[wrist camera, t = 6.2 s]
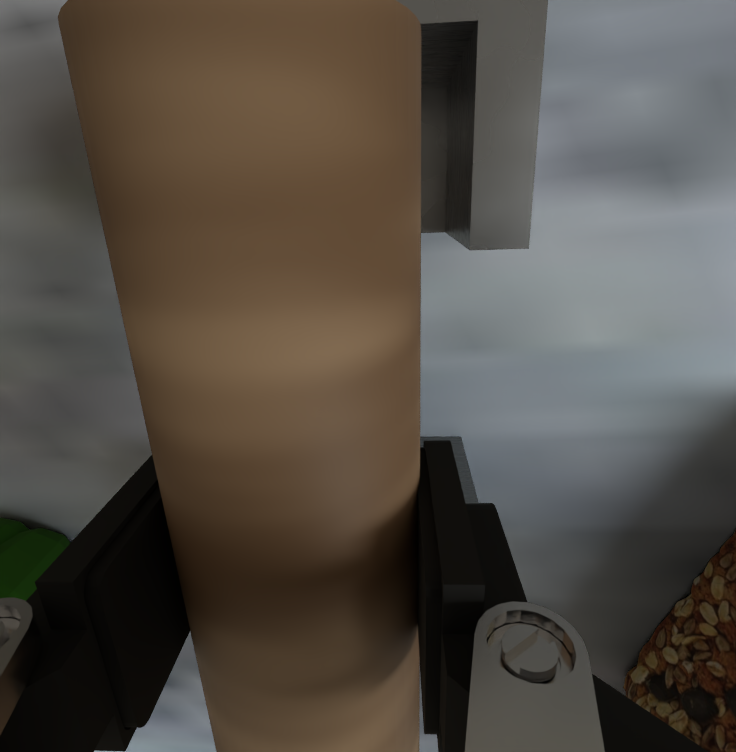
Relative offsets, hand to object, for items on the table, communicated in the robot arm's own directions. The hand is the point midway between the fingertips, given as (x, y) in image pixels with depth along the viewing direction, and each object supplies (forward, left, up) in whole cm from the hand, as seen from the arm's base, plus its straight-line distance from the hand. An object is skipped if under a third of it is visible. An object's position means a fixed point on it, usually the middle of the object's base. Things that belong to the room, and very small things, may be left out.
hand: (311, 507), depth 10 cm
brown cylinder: (0, 0, +1) cm, 1 cm away
